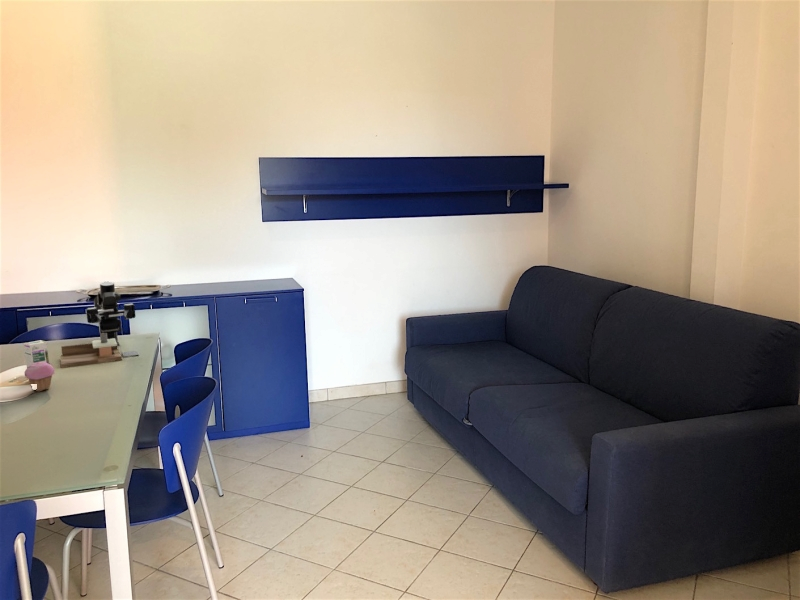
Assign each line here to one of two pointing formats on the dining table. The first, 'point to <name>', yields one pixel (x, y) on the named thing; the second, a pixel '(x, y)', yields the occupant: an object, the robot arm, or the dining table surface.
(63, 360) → the walnut board
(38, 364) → the cupcake
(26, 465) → the dining table surface
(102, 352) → the terracotta block
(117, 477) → the dining table surface
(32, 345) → the syrup box
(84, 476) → the dining table surface
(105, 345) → the sliding cover
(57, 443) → the dining table surface
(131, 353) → the grey pad
